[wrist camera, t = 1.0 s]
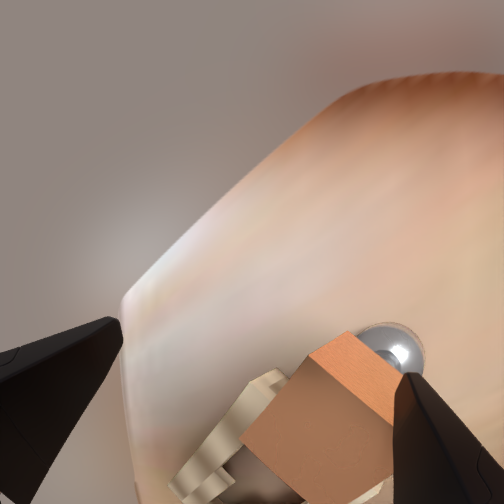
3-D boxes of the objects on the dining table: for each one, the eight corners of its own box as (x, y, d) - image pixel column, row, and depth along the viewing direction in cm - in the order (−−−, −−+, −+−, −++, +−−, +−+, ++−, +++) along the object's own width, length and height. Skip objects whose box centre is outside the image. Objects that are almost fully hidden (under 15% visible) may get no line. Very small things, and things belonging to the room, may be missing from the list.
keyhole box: (276, 367, 22) (249, 381, 20) (391, 465, 16) (378, 493, 14) (189, 473, 28) (166, 485, 25) (259, 541, 22) (240, 557, 19)
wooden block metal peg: (441, 353, 16) (427, 449, 7) (390, 410, 17) (326, 518, 8) (380, 306, 18) (307, 350, 9) (335, 365, 20) (235, 437, 11)
